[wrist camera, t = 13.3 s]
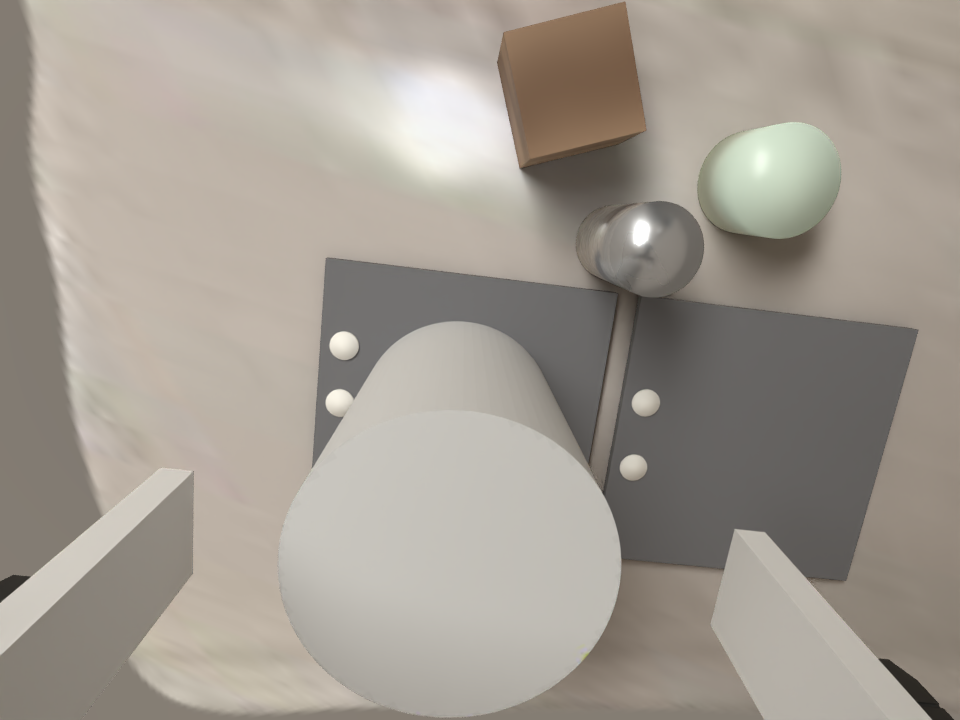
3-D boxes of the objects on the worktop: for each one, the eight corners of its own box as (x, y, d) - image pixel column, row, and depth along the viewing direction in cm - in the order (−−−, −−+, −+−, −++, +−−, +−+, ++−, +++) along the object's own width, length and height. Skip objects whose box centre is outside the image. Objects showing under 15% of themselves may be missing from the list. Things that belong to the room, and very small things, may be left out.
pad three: (328, 257, 25) (325, 258, 24) (615, 292, 25) (618, 293, 25) (310, 523, 28) (307, 529, 27) (571, 549, 28) (573, 555, 28)
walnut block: (497, 63, 23) (503, 32, 20) (598, 37, 23) (625, 1, 19) (519, 168, 24) (530, 159, 20) (616, 144, 24) (646, 130, 20)
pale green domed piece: (680, 211, 25) (712, 213, 22) (726, 113, 24) (766, 103, 21) (764, 248, 25) (805, 255, 22) (811, 154, 24) (861, 149, 22)
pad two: (638, 295, 26) (642, 296, 25) (911, 328, 26) (920, 330, 26) (592, 551, 28) (594, 557, 28) (840, 575, 29) (847, 582, 28)
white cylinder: (390, 519, 27) (334, 747, 15) (338, 346, 25) (230, 456, 14) (568, 478, 27) (647, 678, 15) (528, 300, 25) (584, 373, 13)
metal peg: (582, 200, 25) (618, 195, 19) (654, 210, 25) (712, 207, 19) (570, 274, 25) (602, 291, 19) (640, 283, 25) (693, 302, 20)
